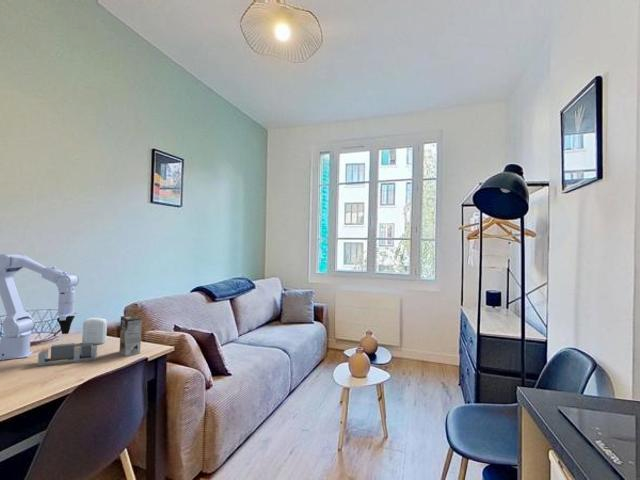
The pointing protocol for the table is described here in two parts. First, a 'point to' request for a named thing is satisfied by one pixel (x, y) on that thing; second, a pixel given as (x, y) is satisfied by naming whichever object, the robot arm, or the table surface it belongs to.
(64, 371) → the table surface
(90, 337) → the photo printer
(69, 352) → the panel
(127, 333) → the coffee box
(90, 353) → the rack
